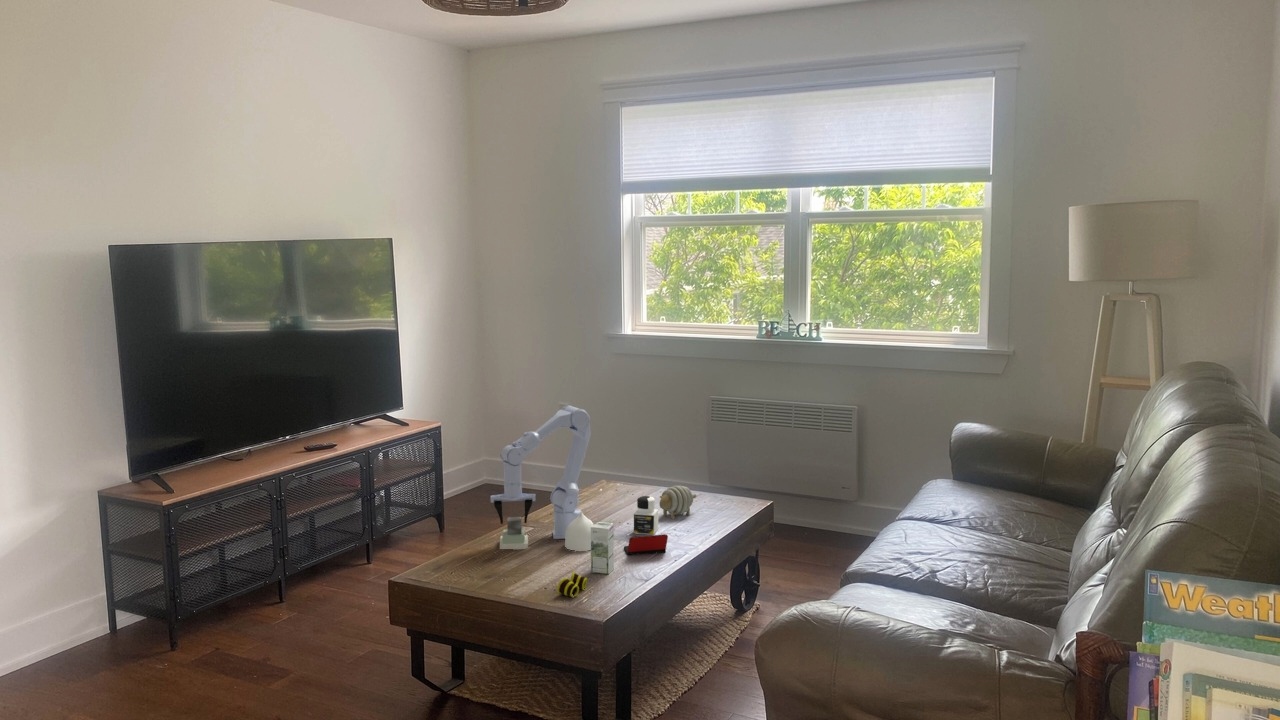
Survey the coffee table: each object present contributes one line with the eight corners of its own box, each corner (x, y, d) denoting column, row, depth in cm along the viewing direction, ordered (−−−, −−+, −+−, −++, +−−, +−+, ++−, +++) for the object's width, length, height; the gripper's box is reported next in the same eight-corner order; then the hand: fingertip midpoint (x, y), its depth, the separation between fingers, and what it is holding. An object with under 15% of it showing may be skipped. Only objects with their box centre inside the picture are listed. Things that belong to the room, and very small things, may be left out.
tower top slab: (524, 536, 298) (524, 529, 297) (524, 543, 291) (524, 535, 290) (503, 537, 297) (503, 529, 297) (502, 543, 290) (502, 536, 290)
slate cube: (521, 530, 296) (521, 516, 296) (521, 534, 292) (521, 520, 291) (507, 530, 296) (507, 517, 295) (507, 534, 291) (507, 521, 291)
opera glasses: (571, 602, 248) (574, 585, 247) (555, 596, 250) (558, 579, 249) (587, 590, 257) (590, 574, 256) (571, 584, 259) (574, 568, 258)
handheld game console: (660, 546, 293) (660, 524, 292) (668, 557, 283) (668, 534, 282) (623, 549, 291) (622, 526, 290) (629, 560, 280) (629, 537, 279)
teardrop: (577, 539, 300) (576, 504, 299) (604, 544, 295) (604, 509, 293) (558, 548, 291) (557, 512, 290) (586, 554, 285) (585, 517, 284)
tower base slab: (527, 542, 299) (527, 535, 299) (527, 551, 291) (527, 543, 290) (500, 543, 298) (500, 536, 298) (499, 552, 289) (499, 544, 289)
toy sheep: (651, 516, 325) (651, 487, 324) (683, 507, 337) (683, 479, 335) (671, 523, 318) (671, 492, 316) (704, 513, 329) (704, 484, 328)
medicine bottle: (633, 533, 306) (633, 499, 304) (638, 527, 313) (638, 494, 311) (653, 535, 304) (653, 500, 303) (658, 528, 311) (658, 495, 310)
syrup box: (614, 568, 272) (614, 522, 270) (608, 575, 266) (608, 527, 264) (596, 566, 273) (596, 520, 272) (590, 573, 268) (589, 526, 266)
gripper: (489, 486, 287) (490, 527, 288) (535, 484, 289) (536, 525, 290) (490, 480, 294) (491, 520, 295) (535, 479, 296) (535, 519, 297)
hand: (513, 522), depth 293 cm, fingers open, 7 cm apart
